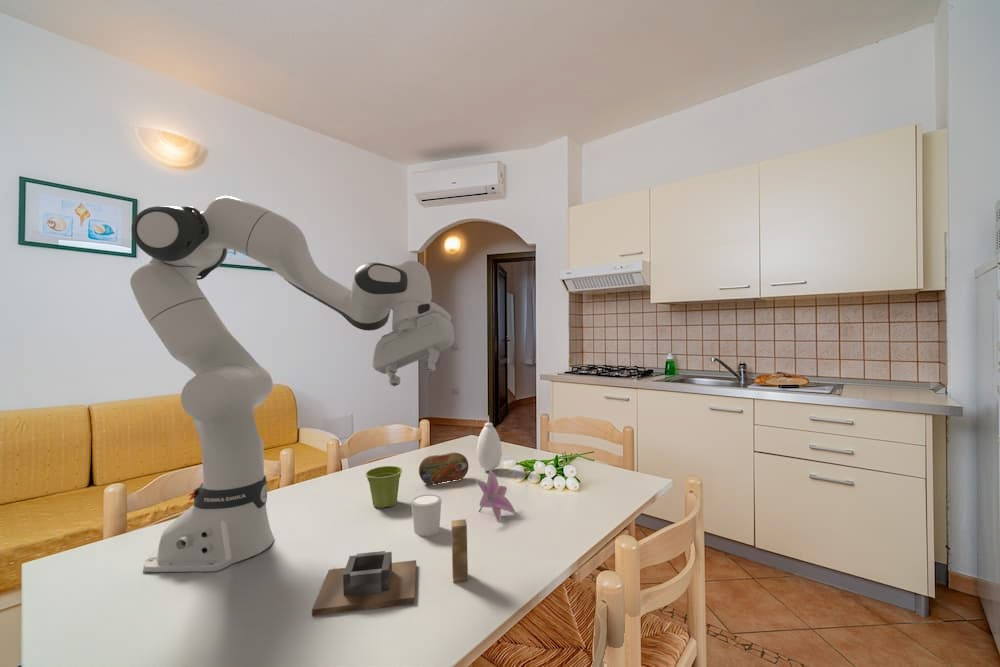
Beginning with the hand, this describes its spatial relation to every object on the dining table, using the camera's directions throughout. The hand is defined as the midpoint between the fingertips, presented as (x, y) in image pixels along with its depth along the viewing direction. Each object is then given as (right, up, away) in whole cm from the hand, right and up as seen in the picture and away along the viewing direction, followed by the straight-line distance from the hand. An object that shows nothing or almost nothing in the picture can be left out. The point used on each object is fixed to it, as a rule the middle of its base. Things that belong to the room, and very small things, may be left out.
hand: (411, 377), depth 90 cm
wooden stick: (+11, -35, -11) cm, 39 cm away
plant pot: (-12, -36, +24) cm, 45 cm away
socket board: (-5, -36, -14) cm, 39 cm away
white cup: (+2, -36, +8) cm, 37 cm away
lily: (+17, -35, +16) cm, 42 cm away
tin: (+1, -36, +41) cm, 54 cm away
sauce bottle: (+15, -35, +50) cm, 63 cm away
